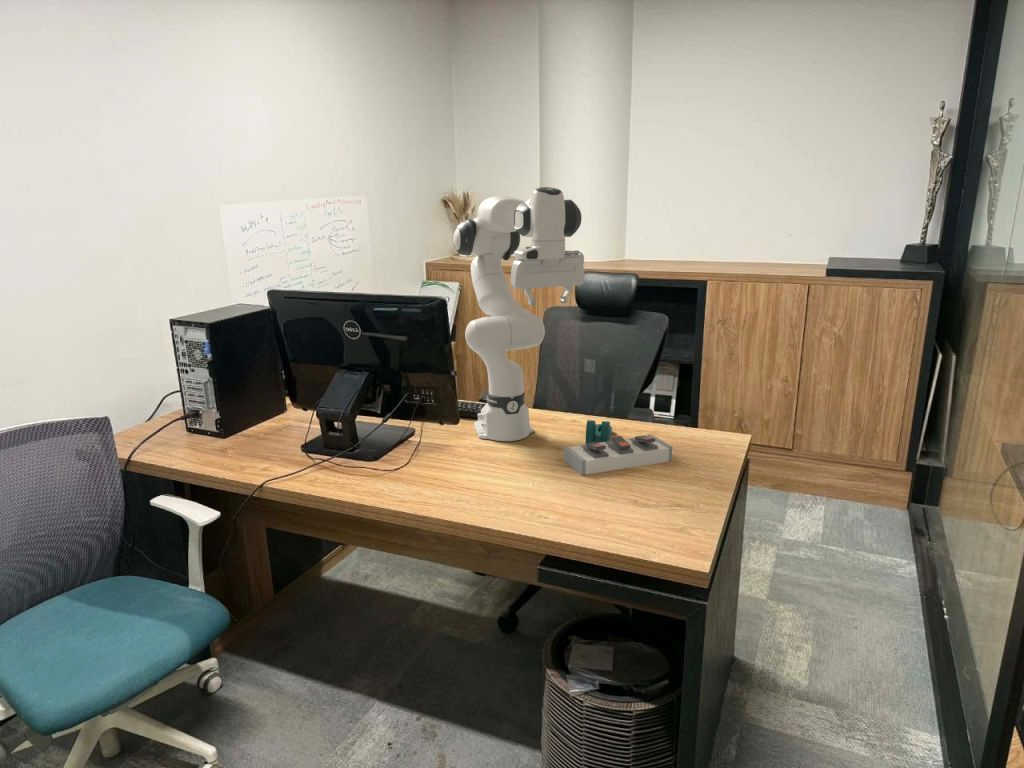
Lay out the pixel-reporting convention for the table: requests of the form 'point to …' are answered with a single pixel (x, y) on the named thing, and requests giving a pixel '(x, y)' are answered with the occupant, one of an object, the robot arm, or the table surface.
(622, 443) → the rocker
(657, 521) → the table surface
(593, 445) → the rocker
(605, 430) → the bracket
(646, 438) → the rocker
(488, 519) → the table surface
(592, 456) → the power strip
